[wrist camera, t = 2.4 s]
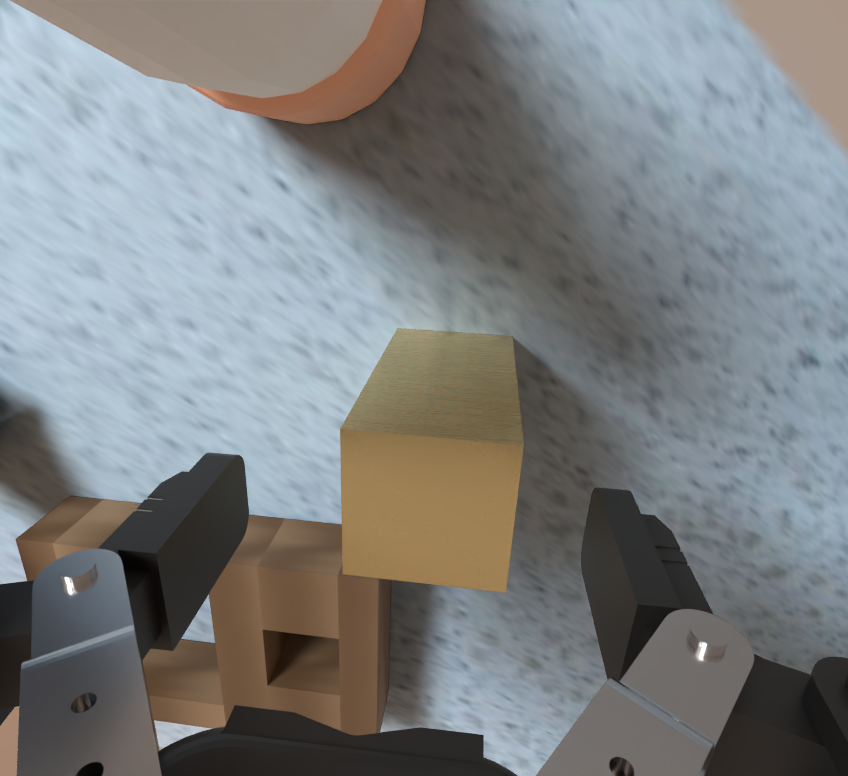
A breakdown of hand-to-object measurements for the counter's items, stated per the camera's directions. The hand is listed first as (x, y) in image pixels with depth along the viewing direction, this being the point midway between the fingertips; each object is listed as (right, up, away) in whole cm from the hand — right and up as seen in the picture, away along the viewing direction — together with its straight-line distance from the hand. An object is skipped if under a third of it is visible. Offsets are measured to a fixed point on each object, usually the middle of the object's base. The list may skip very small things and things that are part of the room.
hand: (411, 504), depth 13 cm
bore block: (-8, -7, +12) cm, 16 cm away
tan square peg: (+1, +3, +7) cm, 8 cm away
